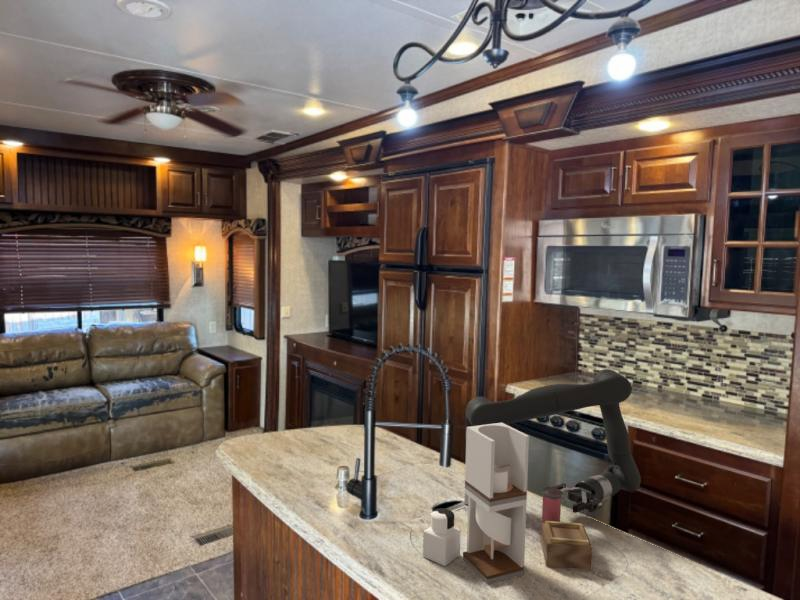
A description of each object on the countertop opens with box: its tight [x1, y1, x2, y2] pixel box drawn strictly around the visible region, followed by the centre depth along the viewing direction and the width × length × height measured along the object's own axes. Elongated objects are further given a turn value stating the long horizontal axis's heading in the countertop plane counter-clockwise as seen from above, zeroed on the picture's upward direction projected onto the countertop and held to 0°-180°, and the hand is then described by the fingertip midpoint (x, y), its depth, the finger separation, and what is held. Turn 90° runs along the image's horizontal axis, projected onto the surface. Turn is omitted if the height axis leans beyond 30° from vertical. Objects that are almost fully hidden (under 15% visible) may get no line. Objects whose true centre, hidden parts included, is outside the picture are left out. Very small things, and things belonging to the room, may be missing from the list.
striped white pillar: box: [462, 423, 530, 585], centre depth 138 cm, size 11×11×35 cm
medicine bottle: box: [422, 507, 462, 567], centre depth 144 cm, size 7×7×12 cm
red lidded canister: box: [541, 486, 562, 532], centre depth 158 cm, size 5×5×12 cm
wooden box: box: [540, 521, 593, 571], centre depth 145 cm, size 11×11×7 cm
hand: (561, 503), depth 160 cm, fingers open, 8 cm apart
